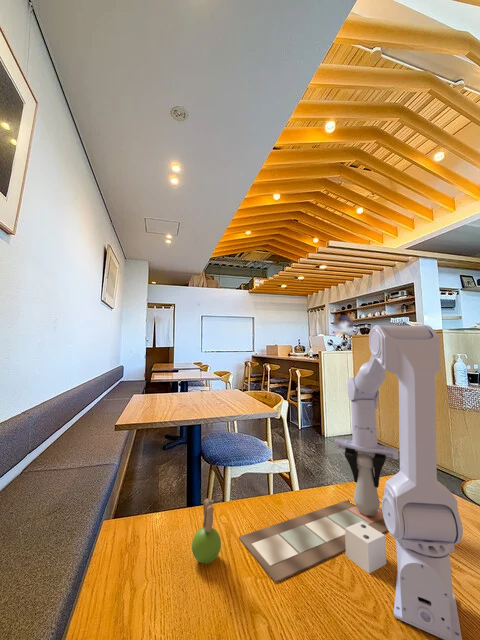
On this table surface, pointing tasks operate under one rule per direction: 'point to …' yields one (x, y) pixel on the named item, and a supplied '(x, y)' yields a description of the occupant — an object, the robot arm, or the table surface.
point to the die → (365, 546)
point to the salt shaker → (366, 486)
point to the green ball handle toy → (206, 537)
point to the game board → (306, 539)
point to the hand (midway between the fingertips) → (366, 483)
